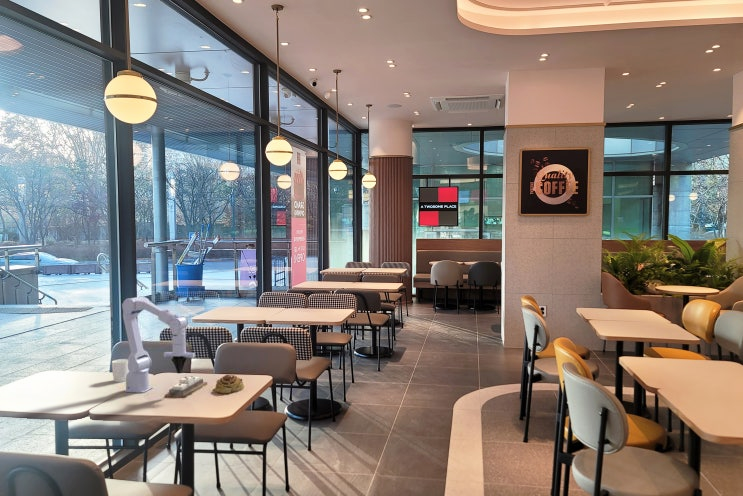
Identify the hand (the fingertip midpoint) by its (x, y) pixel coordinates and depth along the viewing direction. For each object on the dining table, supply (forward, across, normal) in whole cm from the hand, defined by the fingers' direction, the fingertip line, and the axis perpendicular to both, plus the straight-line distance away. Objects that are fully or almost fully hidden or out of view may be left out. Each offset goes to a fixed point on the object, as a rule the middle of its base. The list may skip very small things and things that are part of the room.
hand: (179, 372), depth 243 cm
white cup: (+10, +42, -17) cm, 46 cm away
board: (+10, 0, -6) cm, 12 cm away
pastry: (+10, -19, -10) cm, 24 cm away
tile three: (+9, 0, -12) cm, 15 cm away
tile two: (+7, 0, -6) cm, 9 cm away
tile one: (+9, 0, 0) cm, 9 cm away
